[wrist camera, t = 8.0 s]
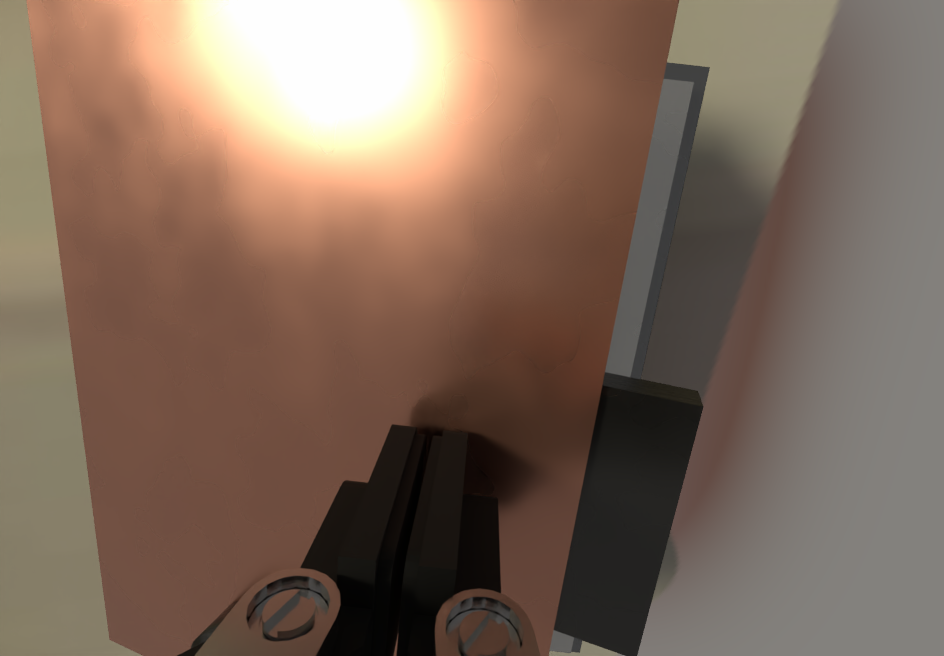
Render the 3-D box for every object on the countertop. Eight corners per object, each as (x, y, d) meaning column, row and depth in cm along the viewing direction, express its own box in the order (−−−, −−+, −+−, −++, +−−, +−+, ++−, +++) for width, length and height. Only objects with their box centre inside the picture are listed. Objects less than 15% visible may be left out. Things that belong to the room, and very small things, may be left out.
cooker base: (268, 21, 22) (76, -125, 12) (637, 62, 22) (768, -46, 12) (272, 496, 29) (154, 665, 18) (552, 528, 29) (586, 714, 18)
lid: (86, 16, 13) (-60, -34, 10) (783, 30, 8) (853, -52, 6) (145, 596, 18) (59, 665, 15) (588, 789, 14) (578, 931, 11)
